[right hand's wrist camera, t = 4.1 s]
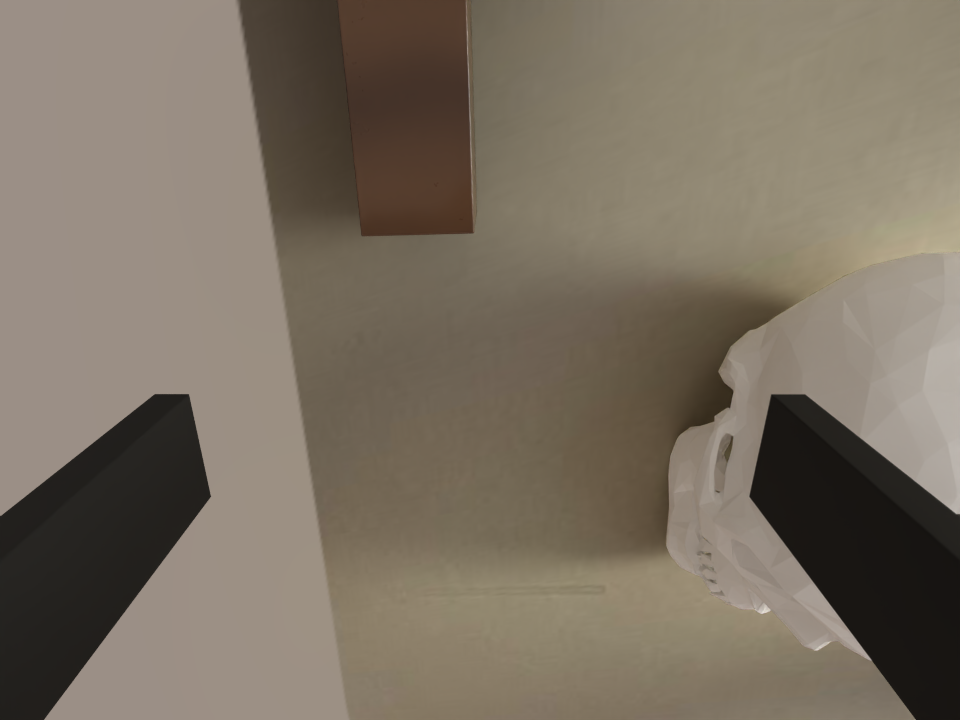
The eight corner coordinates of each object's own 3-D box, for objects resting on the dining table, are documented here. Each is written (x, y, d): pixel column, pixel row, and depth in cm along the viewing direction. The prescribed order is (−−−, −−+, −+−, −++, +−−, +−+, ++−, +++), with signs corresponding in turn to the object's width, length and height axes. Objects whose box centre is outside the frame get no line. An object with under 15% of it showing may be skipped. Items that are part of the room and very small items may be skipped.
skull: (594, 526, 35) (685, 804, 21) (778, 187, 28) (1127, 246, 13) (774, 579, 37) (974, 868, 23) (991, 277, 30) (1502, 415, 15)
